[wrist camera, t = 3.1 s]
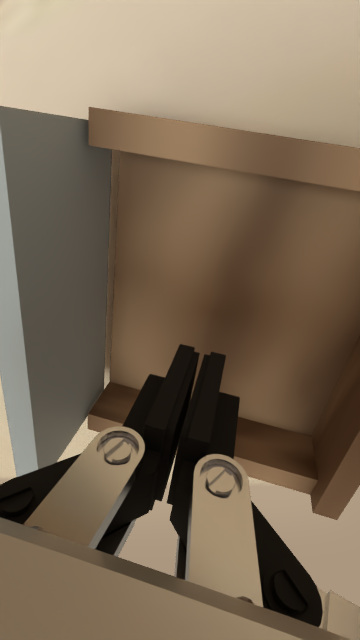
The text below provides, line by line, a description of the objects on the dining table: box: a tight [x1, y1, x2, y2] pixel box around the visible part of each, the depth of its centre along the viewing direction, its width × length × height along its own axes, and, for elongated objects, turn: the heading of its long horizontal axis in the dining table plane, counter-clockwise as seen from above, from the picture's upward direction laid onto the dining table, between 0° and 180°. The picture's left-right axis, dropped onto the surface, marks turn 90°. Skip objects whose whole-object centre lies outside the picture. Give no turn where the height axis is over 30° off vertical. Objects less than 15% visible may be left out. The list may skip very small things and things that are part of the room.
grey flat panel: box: [0, 106, 112, 477], centre depth 15 cm, size 2×15×7 cm, turn 172°
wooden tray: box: [88, 107, 360, 520], centre depth 16 cm, size 14×16×6 cm
